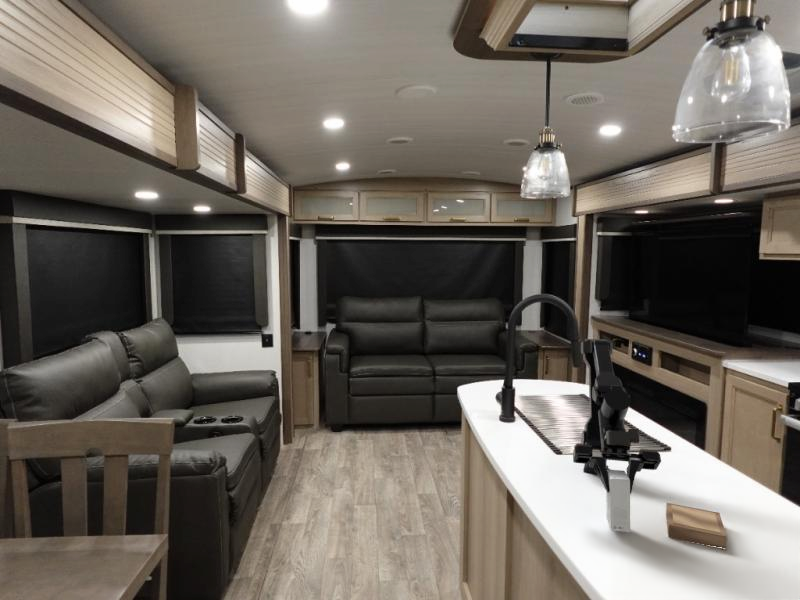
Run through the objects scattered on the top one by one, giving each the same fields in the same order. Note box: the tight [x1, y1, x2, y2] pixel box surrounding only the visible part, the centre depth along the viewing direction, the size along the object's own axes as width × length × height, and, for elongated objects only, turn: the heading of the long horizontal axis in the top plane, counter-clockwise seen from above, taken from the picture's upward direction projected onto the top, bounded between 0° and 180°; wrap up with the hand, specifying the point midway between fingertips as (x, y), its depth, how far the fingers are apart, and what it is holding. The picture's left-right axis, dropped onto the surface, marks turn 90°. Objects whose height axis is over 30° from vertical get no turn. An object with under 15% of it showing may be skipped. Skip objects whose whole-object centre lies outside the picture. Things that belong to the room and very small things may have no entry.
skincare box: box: [605, 468, 631, 533], centre depth 114 cm, size 6×4×12 cm
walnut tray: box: [665, 502, 728, 549], centre depth 113 cm, size 11×11×3 cm
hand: (619, 493), depth 112 cm, fingers closed on skincare box, 4 cm apart
